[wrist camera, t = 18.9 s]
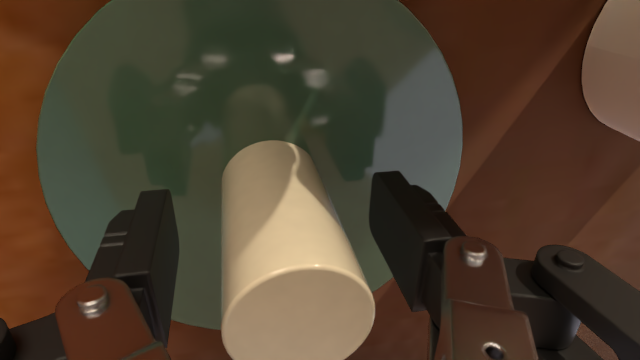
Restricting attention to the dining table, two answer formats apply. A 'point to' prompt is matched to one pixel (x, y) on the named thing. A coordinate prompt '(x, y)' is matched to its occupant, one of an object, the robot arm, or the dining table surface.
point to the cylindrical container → (614, 67)
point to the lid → (252, 153)
